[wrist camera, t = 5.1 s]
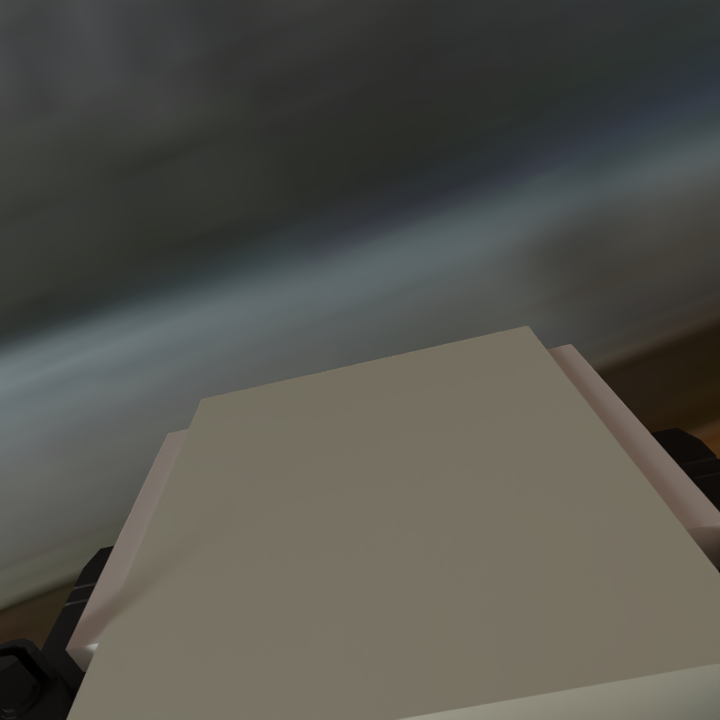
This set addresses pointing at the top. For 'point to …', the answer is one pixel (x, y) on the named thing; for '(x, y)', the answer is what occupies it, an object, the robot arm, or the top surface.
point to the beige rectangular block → (411, 558)
